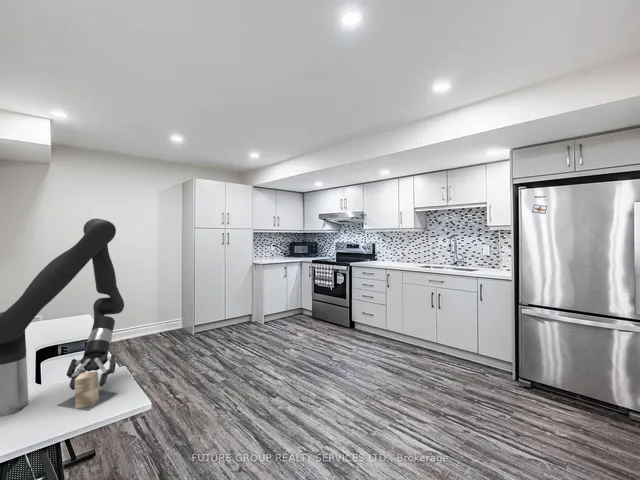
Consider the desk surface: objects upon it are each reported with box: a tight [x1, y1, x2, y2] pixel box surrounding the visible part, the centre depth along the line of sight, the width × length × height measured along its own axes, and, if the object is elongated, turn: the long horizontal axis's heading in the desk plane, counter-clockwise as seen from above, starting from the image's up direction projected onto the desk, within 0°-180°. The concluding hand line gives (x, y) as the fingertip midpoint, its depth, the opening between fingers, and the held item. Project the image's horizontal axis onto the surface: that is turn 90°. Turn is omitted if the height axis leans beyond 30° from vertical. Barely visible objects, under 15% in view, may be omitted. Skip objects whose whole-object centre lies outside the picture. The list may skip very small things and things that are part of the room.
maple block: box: [74, 370, 99, 410], centre depth 112 cm, size 5×5×10 cm
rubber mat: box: [56, 389, 119, 412], centre depth 115 cm, size 14×12×1 cm
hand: (87, 387), depth 112 cm, fingers open, 8 cm apart
